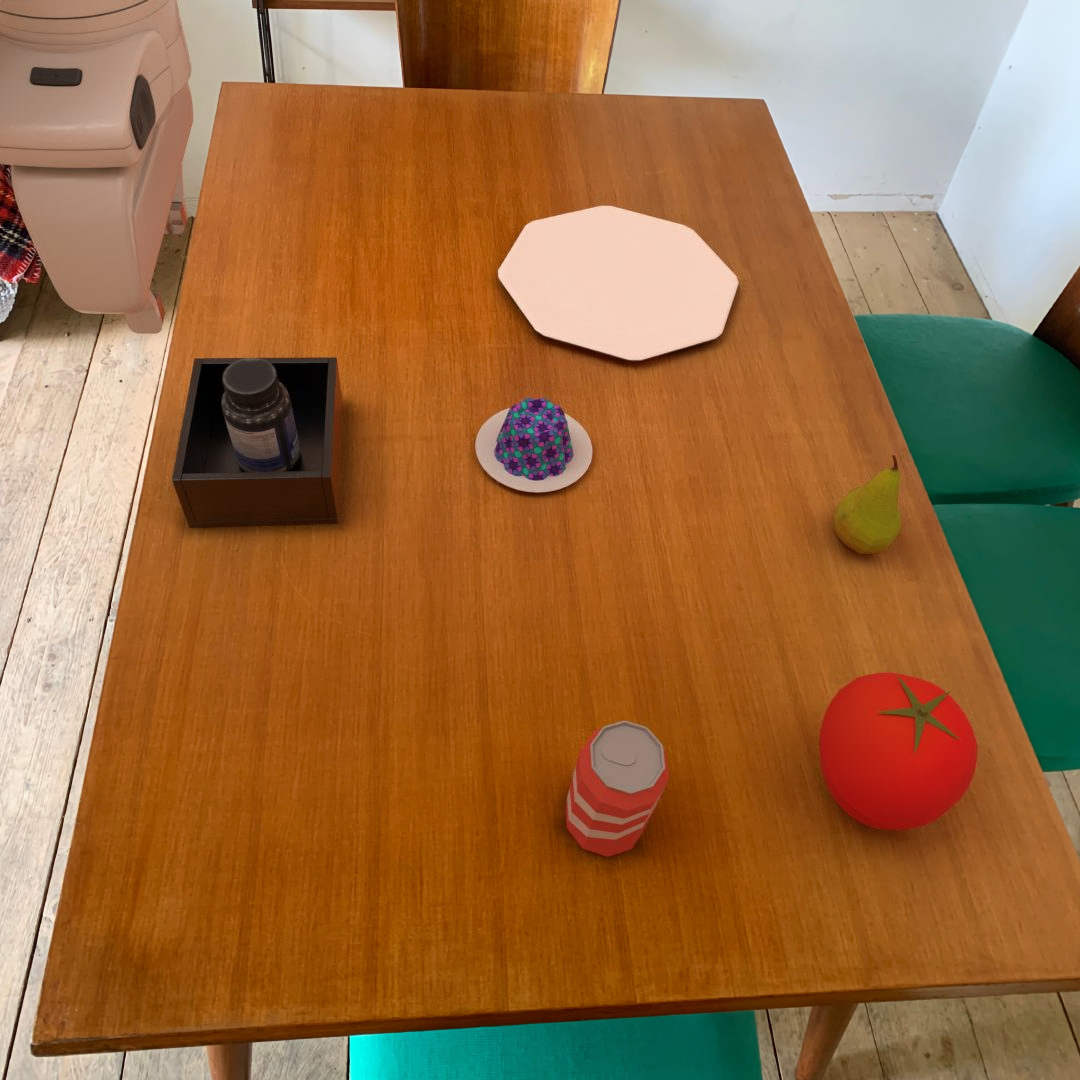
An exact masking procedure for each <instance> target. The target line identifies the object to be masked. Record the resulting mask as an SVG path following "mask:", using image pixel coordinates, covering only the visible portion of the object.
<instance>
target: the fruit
mask: <svg viewBox="0 0 1080 1080" xmlns="http://www.w3.org/2000/svg"><path fill="white" fill-rule="evenodd" d="M891 458H892V460H893V466H892V467H891V466H890V467H888V468H885V469H882V470H881V471H879V472H878V473H876V474H875V475H874V476H873V477H871V478H870V480H869V481H868V482H866V483H865V484H863V485H862V486H857V487H854V488H852V489H851V490H849V491H848V492H847V493H846V495H845V496H844V497H843V498H842V499H841V500H840V501H839V502H838V503H837V506H835V509H834V512H833V533H834V534H835V535H836V537H837V538H838V539H839V540H840V541H841V542H842V543H843V544H844V546H846V547H848V548H849V549H851V550H853V551H854V552H856V553H858V554H860V555H863V554H864V555H865V554H877V553H882V552H885V551H886V549H887V548H888V547H889V546H890V545H891V543H892V542H894V540H895V539H896V538H897V536H899V535H900V533H901V529H902V520H901V511H900V509H899V507H898V504H899V503H898V498H899V497H898V496H899V488H900V482H901V471H900V469H899V465H898V460H897V457H896V455H895V454H892V455H891Z"/></svg>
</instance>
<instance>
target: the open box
mask: <svg viewBox="0 0 1080 1080" xmlns="http://www.w3.org/2000/svg"><path fill="white" fill-rule="evenodd" d="M245 358H246V357H203V358H202V357H199V358H198V357H197V358H194V359H193V363H192V370H191V375H190V380H189V386H188V391H187V396H186V402H185V408H184V412H183V417H182V423H181V428H180V435H179V439H178V444H177V449H176V455H175V461H174V467H173V471H172V477H171V482H172V485H173V487H174V490H175V493H176V496H177V498H178V501H179V504H180V506H181V509H182V511H183V515H184V517H185V519H186V522H187V525H188V527H189V529H190V528H191V529H192V528H221V527H222V528H224V527H261V526H263V527H264V526H294V525H295V526H296V525H330V524H339V512H340V511H339V510H340V488H341V467H342V466H341V464H342V443H343V441H342V440H343V419H344V402H343V394H342V386H341V378H340V372H339V370H340V369H339V364H338V358H337V356H335V357H333V356H332V357H331V356H330V357H328V356H327V357H325V356H323V357H321V356H316V357H315V356H314V357H312V356H311V357H308V356H307V357H306V356H305V357H304V356H303V357H301V356H300V357H258V358H259V359H263V360H266V361H268V362H269V363H271V364H272V365H273V366H274V368H275V369H276V372H277V376H278V381H279V382H280V383H282V384H283V385H284V386H285V387H286V389H287V391H288V393H289V396H290V400H291V405H292V410H293V415H294V420H295V425H296V430H297V435H298V440H299V445H300V458H299V460H298V463H297V464H296V466H295V467H294V468H293V469H292V470H290V471H285V472H244V471H243V470H242V469H241V468H240V466H239V465H238V462H237V459H236V455H235V452H234V448H233V445H232V442H231V438H230V435H229V431H228V428H227V424H226V421H225V417H224V414H223V411H222V406H221V402H222V397H223V394H224V392H225V389H224V385H223V379H222V377H223V373H224V371H225V370H226V368H227V367H228V366H230V364H232V363H234V362H236V361H238V360H240V359H245Z"/></svg>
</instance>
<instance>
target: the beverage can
mask: <svg viewBox="0 0 1080 1080" xmlns="http://www.w3.org/2000/svg"><path fill="white" fill-rule="evenodd" d="M669 780H670V777H669V768H668V760H667V751H665V750H664V745H663V743H661V741H660V740H659V739H658V738H657V737H656V736H655V734H654V733H653V732H652V731H651V730H650V728H649V727H647V726H644V725H641V724H638V723H634V722H631V721H627V720H626V719H625V720H621V721H618V722H615V723H614V722H613V723H611V724H608V725H604V726H602V728H599V729H595V730H594V731H593V732H592V733H591V735H590V737H589V738H588V739H587V741H586V742H585V743H584V745H583V746H582V748H580V750H579V753H578V756H577V760H576V764H575V767H574V770H573V775H572V779H571V781H570V785H569V789H568V793H567V797H566V800H565V820H566V822H565V823H566V829H567V830H568V831H569V833H570V834H571V836H572V837H573V838H574V839H575V841H576V842H577V844H578V845H579V846H580V847H581V849H583V850H585V851H588V852H591V853H594V854H598V855H600V856H604V857H607V858H610V857H612V856H615V855H618V854H621V853H624V852H627V851H630V850H632V849H634V846H635V845H636V843H637V842H638V840H639V839H640V837H641V835H642V834H643V832H644V830H645V829H646V827H647V825H648V823H649V821H650V820H651V817H652V815H653V813H654V811H655V809H656V807H657V805H658V803H659V801H660V799H661V796H662V795H663V792H664V791H665V788H666V787H667V785H668V782H669Z"/></svg>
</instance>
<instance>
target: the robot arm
mask: <svg viewBox="0 0 1080 1080" xmlns="http://www.w3.org/2000/svg"><path fill="white" fill-rule="evenodd" d="M191 76H192V62H191V58H190V54H189V49H188V45H187V41H186V35H185V30H184V27H183V23H182V18H181V13H180V9H179V5H178V0H0V165H7V166H11V169H10V170H11V174H10V176H11V184H12V185H11V186H12V190H13V194H14V198H15V201H16V204H17V207H18V211H19V214H20V216H21V219H22V220H23V223H24V225H25V227H26V230H27V232H28V234H29V237H30V239H31V241H32V243H33V246H34V248H35V250H36V252H37V254H38V256H39V258H40V261H41V263H42V266H43V268H44V269H45V271H46V273H47V276H48V277H49V279H50V281H51V283H52V285H53V287H54V289H55V291H56V293H57V295H58V296H59V297H60V300H62V301H63V302H64V303H65V304H66V306H68V307H70V308H72V310H75V311H77V312H79V313H82V314H89V315H90V314H94V315H97V314H98V315H121V314H122V315H124V318H125V321H126V323H127V327H128V328H129V329H130V331H131V332H133V333H134V334H140V335H141V334H144V335H145V334H149V335H150V334H151V335H152V334H159V333H161V332H162V330H163V324H164V321H165V315H166V310H165V308H164V306H163V300H162V297H161V295H160V292H152V290H151V289H150V288H151V284H152V280H153V277H154V272H155V269H156V265H157V261H158V258H159V254H160V249H161V246H162V242H163V238H164V235H171V234H173V235H182V234H184V233H185V230H186V226H187V223H188V219H189V214H188V209H187V206H186V202H185V201H186V200H185V198H184V196H185V195H184V180H183V176H184V175H183V161H184V157H185V153H186V151H187V150H186V149H187V146H188V141H189V138H190V134H191V130H192V126H193V123H194V104H193V97H192V92H191V88H190V84H189V80H190V78H191Z"/></svg>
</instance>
